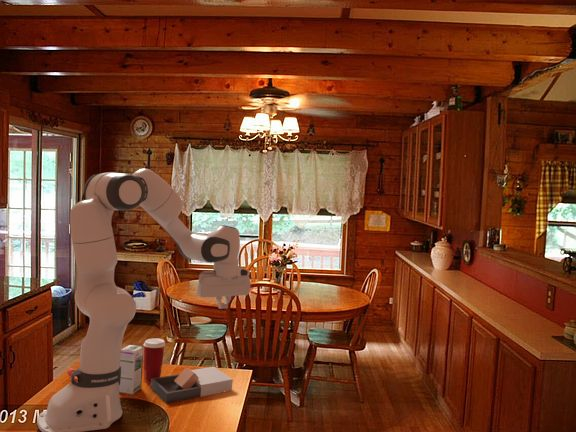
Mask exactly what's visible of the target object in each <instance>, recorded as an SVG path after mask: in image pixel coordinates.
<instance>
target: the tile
mask: <svg viewBox="0 0 576 432" xmlns="http://www.w3.org/2000/svg"><path fill="white" fill-rule="evenodd" d="M191 370H192V369H190V368H189V367H185V368H184V369H183V370H182V371H181V372H180V373H179V374H180V375H179V376H178V377H177V378H176V379H175V380H174V382H175V383H176V384H177V385H178V386H179V387H180V388H182V389H183V390H184V389H189V388H191V387H192V386H193V385H194V384H195V382H196V381H197V380H198V379H199V378H198V376H197V375H196V374H195V373H194V372H192V371H191Z"/></svg>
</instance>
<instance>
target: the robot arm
mask: <svg viewBox="0 0 576 432" xmlns="http://www.w3.org/2000/svg"><path fill="white" fill-rule="evenodd" d="M83 187H84V188H83V193H82V195H81V200H80V201H78V202H76V203H75V204H74V205H72V208H71V209H70V216H69V217H70V219H69V220H70V221H69V224H70V225H69V226H70V235H71V237H70V238H71V243H72V247H73V248H72V249H73V254H74V259H75V260H74V261H75V265H76V290H75V293H74V302H75V304H76V306H77V308H78V310H79V311H80V312H81V313H82V314H84V315H85V316H87V317H88V318H89V325H88V328H87V332H86V335H85V337H84V338H83V339H82V340H81V344H80V355H79V356H80V358H79V367H78V368H77V369H76V370H75V369H74V367H69V368H68V369H67V370H66V373H67V375H68V376H69V377H70V382H69V383H68V384H67V385H66V386H64V387H63V388H62V389H60V390H58V391H57V392H56V393H54V394H53V395H52V396H51V397H50V400H49V402H48V405H47V407H46V408H47V409H46V410H44V411H42V412H41V413H39V415H38V416H37V421H36V424H37V427H38V429H39V431H41V432H89V431H97V430H98V431H99V430H106V429H108V428H110V427H111V425H112V424H113V423H114V422H116V421H117V420H119V419H120V418H121V417H122V415H123V409H122V406H121V398H120V392H119V385H120V381H121V366H120V356H121V349H122V344H123V339H124V335H125V333H126V332H125V331H126V329H127V326H128V324H129V323H130V322H131V321H132V320H133V319H134V317H135V314H136V313H137V312H136V311H137V303H136V301H135V298H133V296H132V295H131V294H130V293H129V292H128V291H127V290H125V289H124V288H121V287H119V286H117V285H116V283H115V271H116V270H115V269H116V265H117V263H118V254H117V248H116V243H115V242H116V241H115V236H114V231H113V230H114V229H113V226H112V218H113V215H114V212H115V211H123V212H125V211H130V210H133V209H135V208H136V207H138V206H140V207H141V208H142V209H143V210H144V211H145V212H146V213H147V214H148V215H149V216H150V217H151V218H152V219H153V220H155V221H156V222H157V223H158V225H159V226H160V227H161V228H162V229H163V230H164V231H165V232H166V233H167V235H168V236H169V237H170V238H171V239H172V240H173V241H174V243H175V245H176V247H177V249H178V251H179V254H180V256H181V257H183V258H184V259H186V260H189V261H190V260H191V261H198V262H204V263H208V264H211V263H213V270H203V271H201V272H200V273H199V275H198V284H197V290H196V294H197V296H198V297H199V298H202V299H203V298H215V299H216V301H217V304H218V306H217V307H218V309H220V310H223V309H228V307H229V306H228V305H229V304H230V302H231V300H232V297H236V296H248V295H249V294H250V293H251V278H250V273H251V271H250V270H249V269H247V268H244V267H241V266H239V253H240V245H241V235H240V231H239V229H238V228H236V227H233V226H229V225H225V224H224V225H219V226H218V227H217V228H216V229H215V230H213V231H211V232H209V233H206V234H205V233H199V232H195V231H192V230H190V229H189V228H188V227H187V226H186V225H185V224H184V223H183V221H182V220H181V219H180V218H179V216H180V214H181V212H182V210H183V200H182V198H181V197H180V195H179V194H178V192H176V190H175V189H174V188H173V187H172V186H171V185H170V184H169V183H168V182H167V181H166V180H165V179H164V178H162V177H161V176H160V175H158V174H157V173H156V172H155V171H153V170H152V169H149V168H140V169H137V170H136V171H134V172H133V173H125V172H124V173H122V172H115V171H109V172H97V173H95V174H93V175H92V176H90V177H89V178H87V181H86V182H85V185H84V186H83ZM223 298H225V300H224V301H222V300H223Z"/></svg>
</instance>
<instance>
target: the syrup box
mask: <svg viewBox="0 0 576 432" xmlns="http://www.w3.org/2000/svg"><path fill="white" fill-rule="evenodd" d="M120 366H121V381H120V385H119V393H122V394H126V395H134V394H135V393H136V392H138V391H139V390H141V389H142V383H143V382H142V381H143V368H144V346H142V345H136V344H128V345H127V346H125V347H123V348H121V356H120Z"/></svg>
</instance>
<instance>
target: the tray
mask: <svg viewBox="0 0 576 432" xmlns="http://www.w3.org/2000/svg"><path fill="white" fill-rule="evenodd" d="M180 374H181V373H178V374H173V375H172V374H171V375H165V376H160V377H158V378H152V379H151V382H150V389H151V390H152V391H153V392H154V393H155V394H156V395H157V396H158V397H159V398H160V399H161V400H162V401H163V402H164V403H165V404H171V403H176V402H180V401H186V400H190V399H192V400H193V399H197V398H201V397H200V396H201V387H200V386H199V385H198V384H196V383H195V384H194V385H193V386H192V387H191V388H189V389H184V390H183V389H182V388H180V387H179V386H178V385H177V384H176V383H175V382H174V380H175V379H176V378H177V377H178V376H179V375H180Z"/></svg>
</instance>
